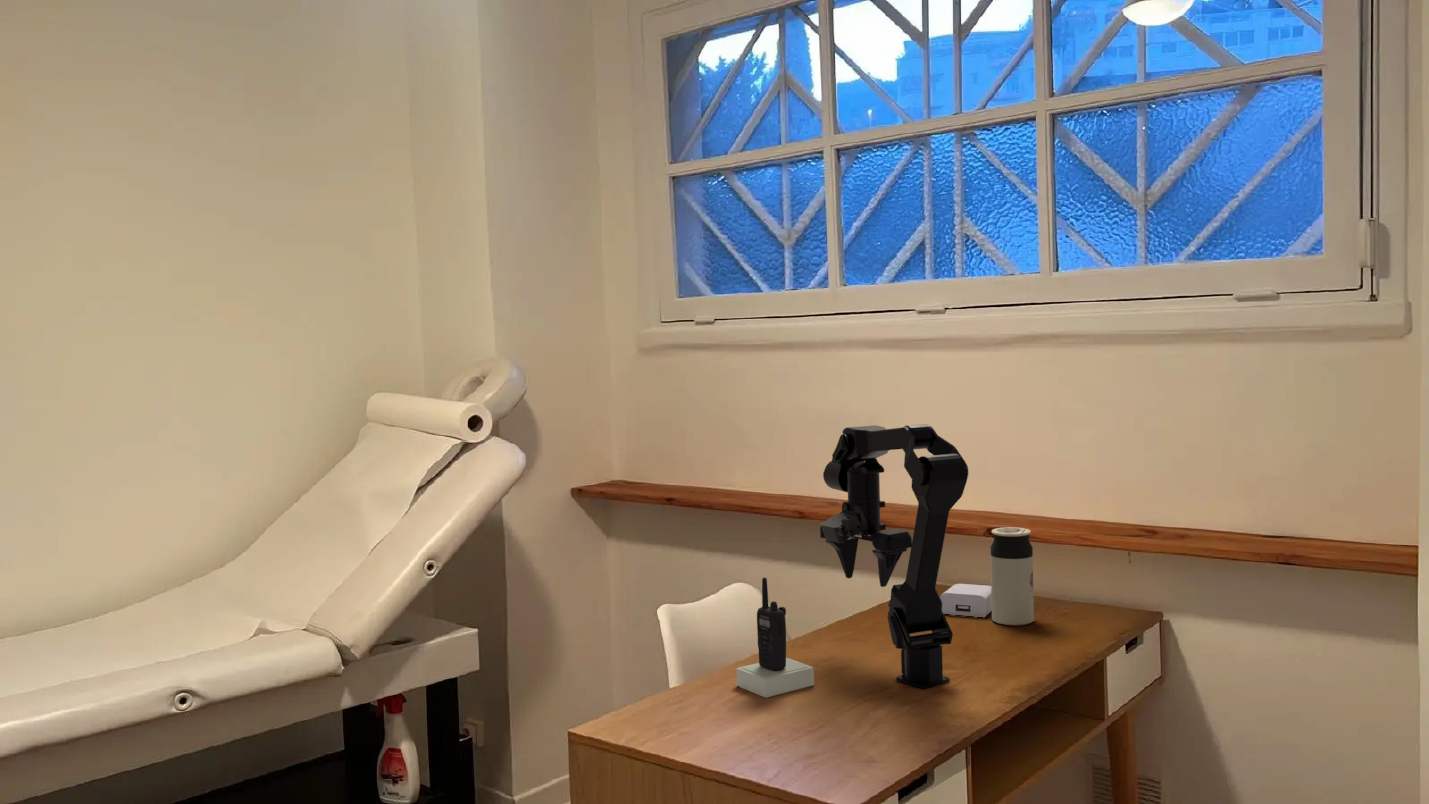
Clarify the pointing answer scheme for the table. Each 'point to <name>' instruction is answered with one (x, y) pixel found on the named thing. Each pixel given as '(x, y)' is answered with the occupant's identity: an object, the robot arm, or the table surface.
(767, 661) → the two-way radio
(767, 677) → the sage tile
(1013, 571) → the travel mug
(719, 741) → the table surface
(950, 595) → the charger
